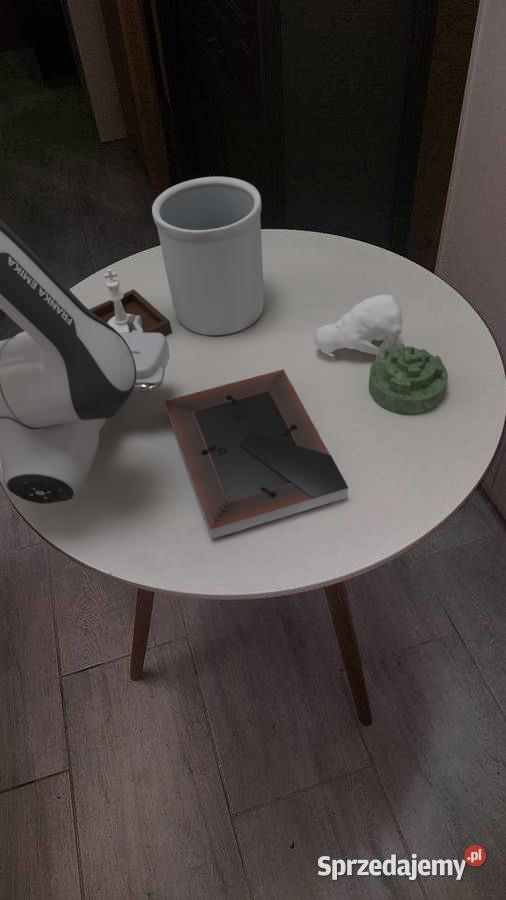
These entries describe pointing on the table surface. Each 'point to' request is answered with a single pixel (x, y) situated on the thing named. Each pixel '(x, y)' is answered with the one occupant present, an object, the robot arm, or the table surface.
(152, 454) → the table surface
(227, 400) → the picture frame
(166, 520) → the table surface
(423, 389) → the decorative artifact
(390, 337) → the white animal figurine
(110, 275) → the chess piece
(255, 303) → the utensil holder
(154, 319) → the dark tray
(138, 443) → the table surface
